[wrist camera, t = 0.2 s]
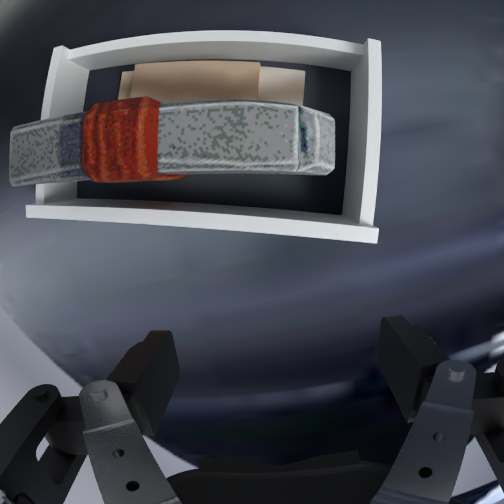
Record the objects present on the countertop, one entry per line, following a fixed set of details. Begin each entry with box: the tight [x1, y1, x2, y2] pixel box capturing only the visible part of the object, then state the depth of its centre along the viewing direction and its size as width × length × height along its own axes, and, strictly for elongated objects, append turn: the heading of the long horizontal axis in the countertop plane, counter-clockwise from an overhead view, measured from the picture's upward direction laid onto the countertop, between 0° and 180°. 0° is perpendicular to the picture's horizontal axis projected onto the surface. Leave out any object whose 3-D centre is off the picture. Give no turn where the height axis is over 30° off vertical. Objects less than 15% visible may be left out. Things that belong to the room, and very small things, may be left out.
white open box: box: [26, 30, 382, 244], centre depth 32 cm, size 22×40×10 cm, turn 86°
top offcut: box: [130, 61, 260, 102], centre depth 32 cm, size 6×15×2 cm, turn 85°
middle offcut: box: [257, 66, 305, 106], centre depth 34 cm, size 6×20×2 cm, turn 85°
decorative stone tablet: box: [9, 96, 335, 186], centre depth 29 cm, size 19×6×30 cm
